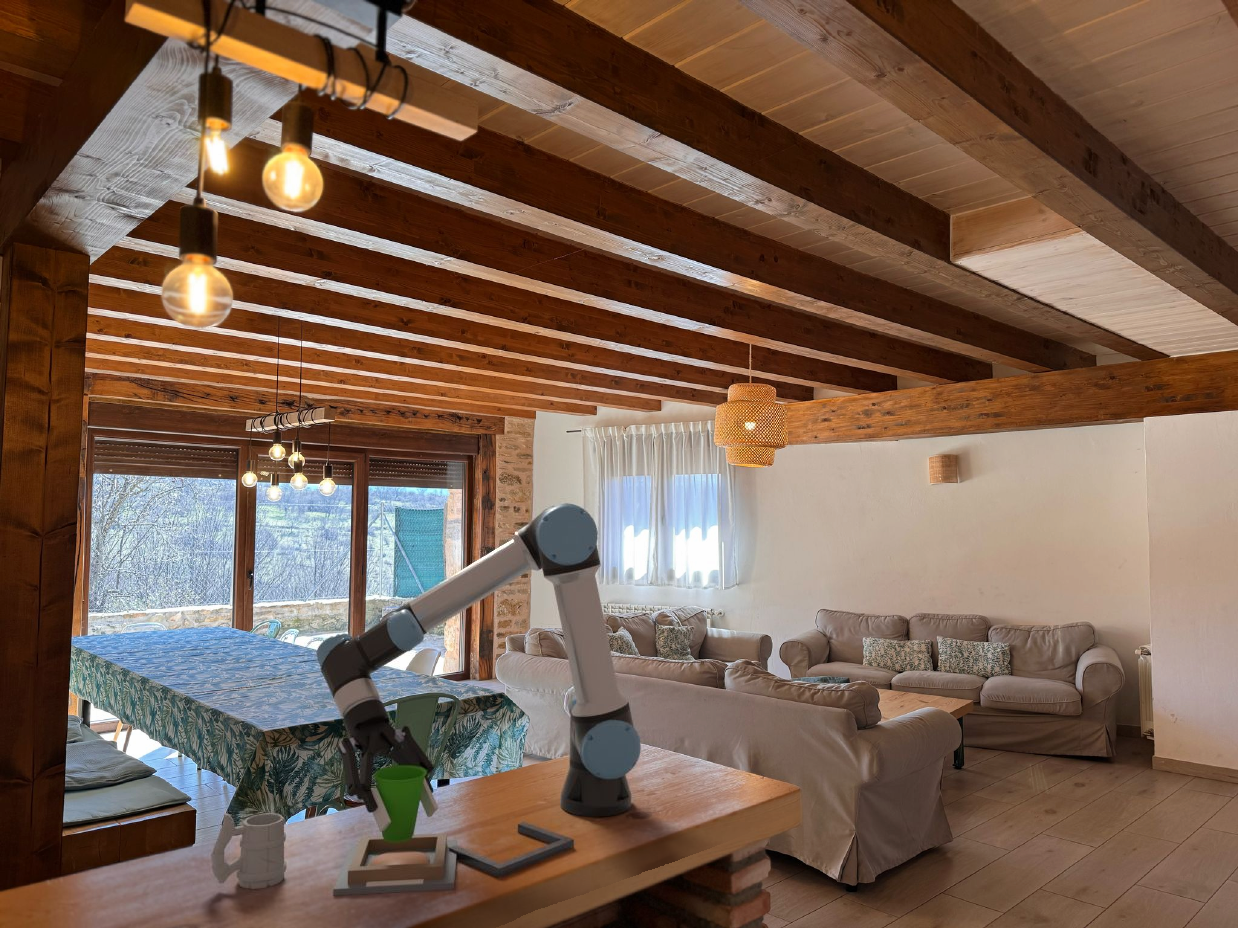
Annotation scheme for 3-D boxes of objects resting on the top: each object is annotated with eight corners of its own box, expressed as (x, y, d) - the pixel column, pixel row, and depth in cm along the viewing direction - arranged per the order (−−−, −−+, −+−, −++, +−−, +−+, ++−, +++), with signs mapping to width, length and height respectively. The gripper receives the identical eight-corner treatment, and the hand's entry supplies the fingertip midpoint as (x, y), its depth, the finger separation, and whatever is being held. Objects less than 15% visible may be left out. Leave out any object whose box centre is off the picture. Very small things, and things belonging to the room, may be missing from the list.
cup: (410, 849, 142) (413, 782, 143) (361, 844, 144) (363, 777, 145) (433, 830, 151) (435, 767, 152) (385, 825, 153) (388, 763, 154)
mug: (293, 881, 142) (295, 807, 142) (217, 901, 134) (220, 822, 135) (277, 866, 147) (279, 795, 148) (203, 884, 140) (206, 809, 141)
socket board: (457, 845, 158) (457, 828, 158) (453, 889, 139) (454, 870, 140) (351, 850, 155) (351, 833, 155) (333, 895, 137) (333, 875, 137)
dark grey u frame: (573, 847, 158) (574, 839, 158) (499, 877, 144) (499, 868, 144) (523, 829, 167) (523, 821, 167) (448, 855, 153) (449, 847, 153)
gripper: (402, 713, 167) (450, 815, 156) (298, 731, 151) (343, 848, 139) (420, 689, 164) (470, 792, 152) (315, 706, 148) (363, 823, 136)
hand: (410, 819), depth 146 cm, fingers closed on cup, 9 cm apart
